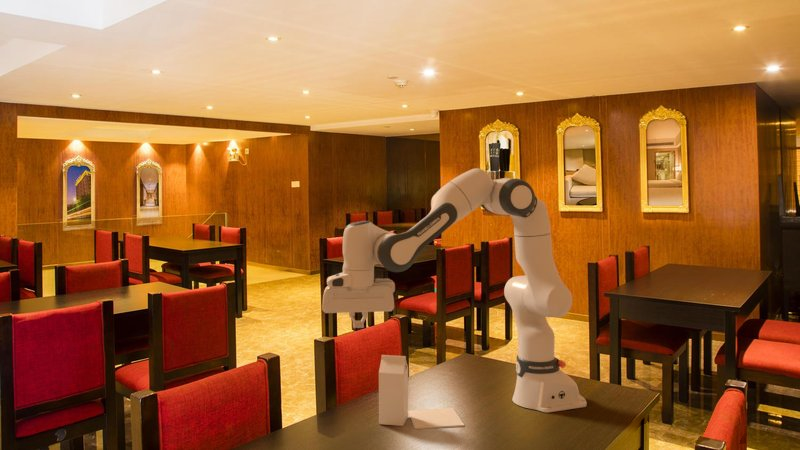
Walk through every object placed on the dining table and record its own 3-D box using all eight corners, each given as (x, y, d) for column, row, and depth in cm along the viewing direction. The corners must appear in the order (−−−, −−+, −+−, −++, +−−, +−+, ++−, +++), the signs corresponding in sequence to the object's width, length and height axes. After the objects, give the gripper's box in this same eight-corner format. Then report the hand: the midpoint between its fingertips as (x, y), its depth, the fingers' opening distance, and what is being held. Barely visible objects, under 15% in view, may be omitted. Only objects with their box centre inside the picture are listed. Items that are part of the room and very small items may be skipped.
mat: (453, 409, 176) (453, 407, 176) (464, 426, 164) (464, 424, 164) (407, 411, 174) (407, 410, 174) (415, 429, 161) (415, 427, 161)
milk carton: (403, 426, 163) (403, 359, 162) (378, 424, 165) (378, 358, 164) (408, 417, 170) (408, 353, 169) (384, 415, 172) (384, 351, 171)
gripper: (393, 276, 168) (393, 323, 169) (322, 277, 165) (322, 326, 166) (396, 279, 162) (396, 328, 163) (322, 281, 159) (322, 331, 160)
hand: (358, 327), depth 164 cm, fingers closed
